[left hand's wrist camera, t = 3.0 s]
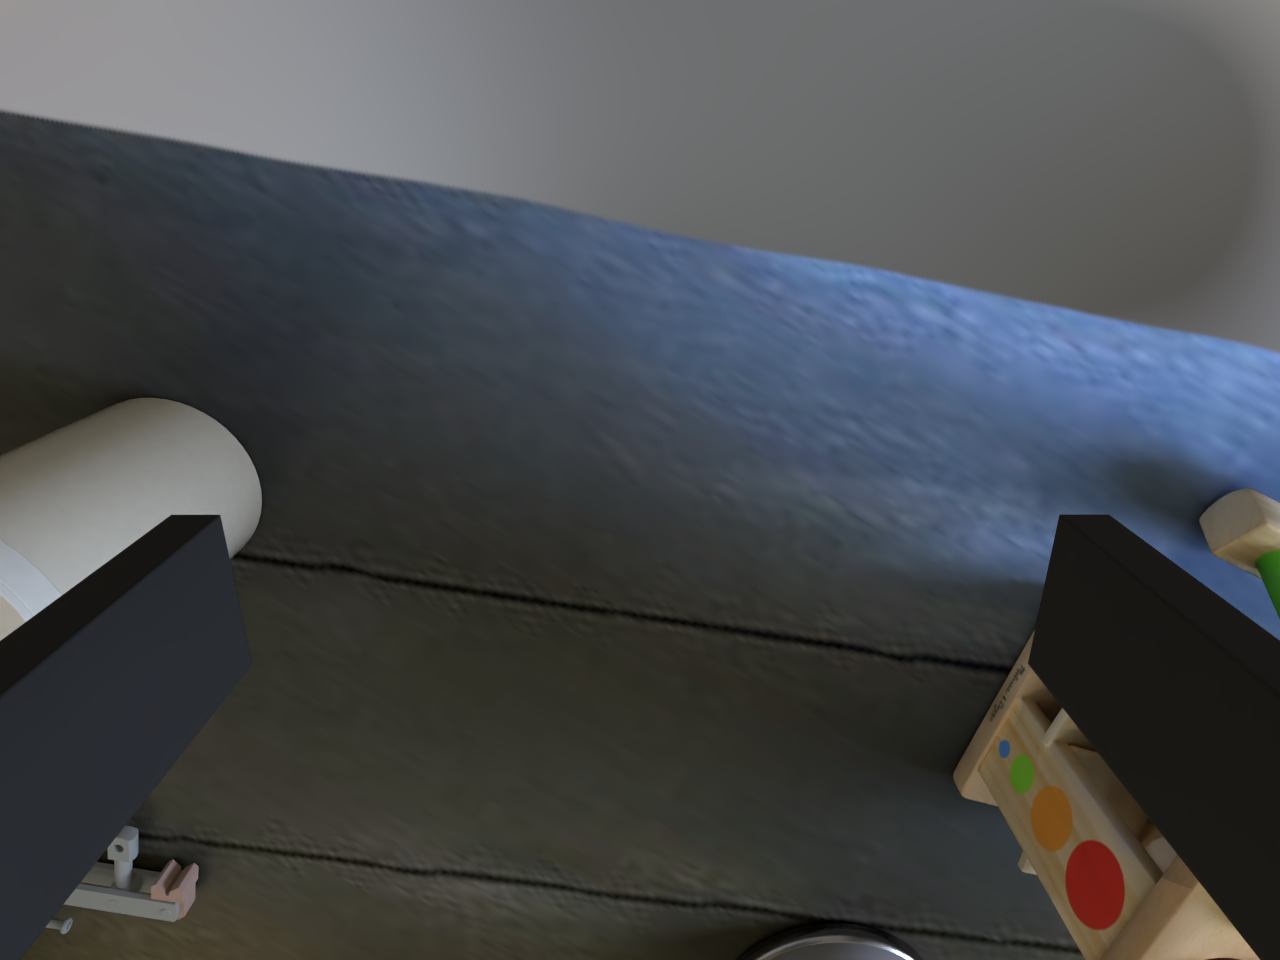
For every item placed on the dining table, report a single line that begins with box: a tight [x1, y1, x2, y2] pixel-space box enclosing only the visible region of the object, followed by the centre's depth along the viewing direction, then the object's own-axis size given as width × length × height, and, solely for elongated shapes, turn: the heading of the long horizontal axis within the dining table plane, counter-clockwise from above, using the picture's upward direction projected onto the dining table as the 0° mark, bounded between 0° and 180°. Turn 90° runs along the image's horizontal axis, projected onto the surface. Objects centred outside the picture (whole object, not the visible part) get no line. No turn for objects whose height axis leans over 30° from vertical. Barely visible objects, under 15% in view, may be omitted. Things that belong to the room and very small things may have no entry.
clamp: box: [45, 825, 199, 934], centre depth 51 cm, size 15×2×10 cm
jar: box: [0, 398, 262, 595], centre depth 35 cm, size 10×10×16 cm
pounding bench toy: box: [953, 489, 1280, 960], centre depth 38 cm, size 23×14×18 cm, turn 163°
